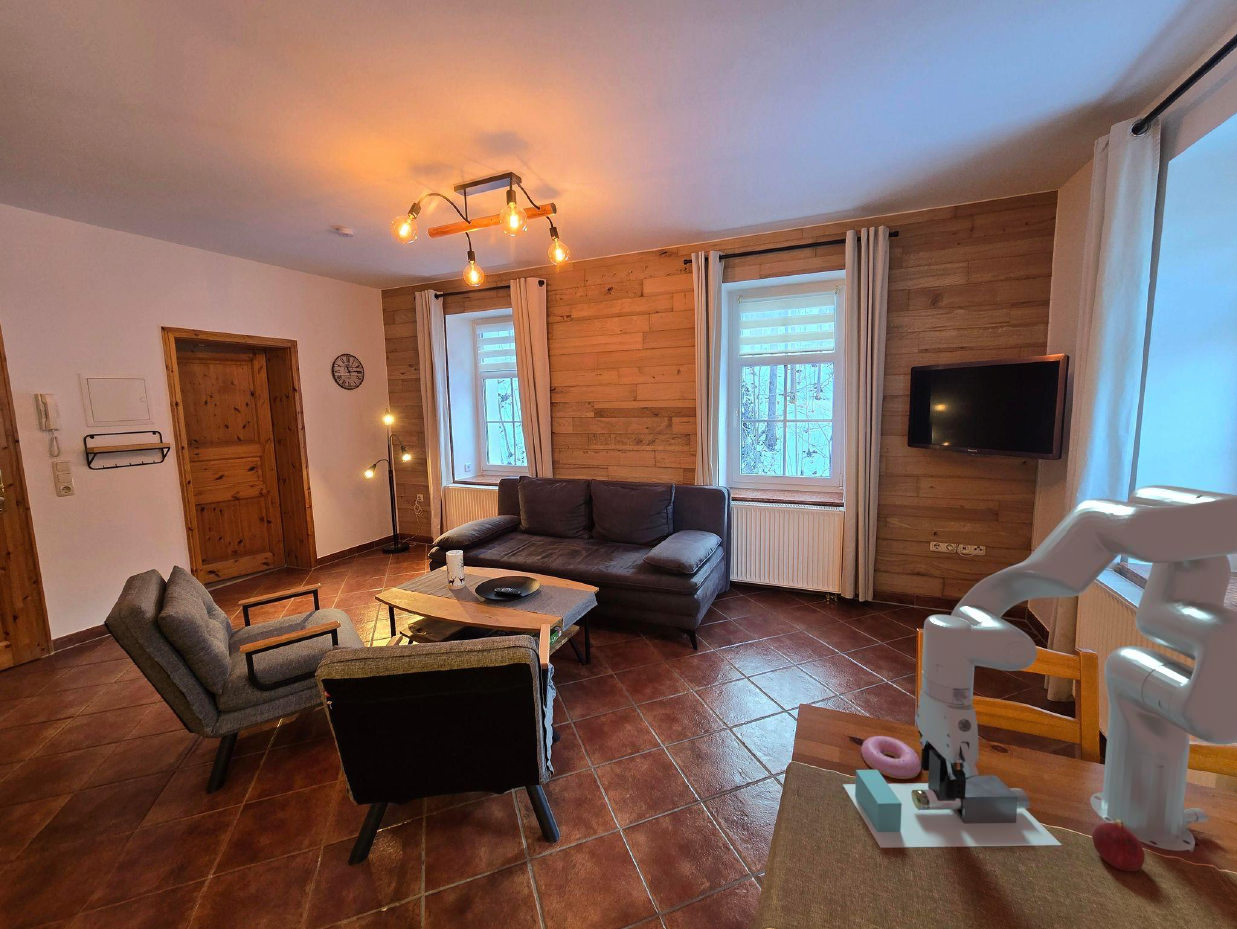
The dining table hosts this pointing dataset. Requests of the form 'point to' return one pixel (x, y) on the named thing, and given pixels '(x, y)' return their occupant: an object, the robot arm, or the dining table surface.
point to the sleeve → (988, 801)
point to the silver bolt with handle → (936, 786)
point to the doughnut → (898, 768)
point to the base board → (952, 826)
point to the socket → (878, 801)
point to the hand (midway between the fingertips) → (942, 782)
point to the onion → (1118, 846)
